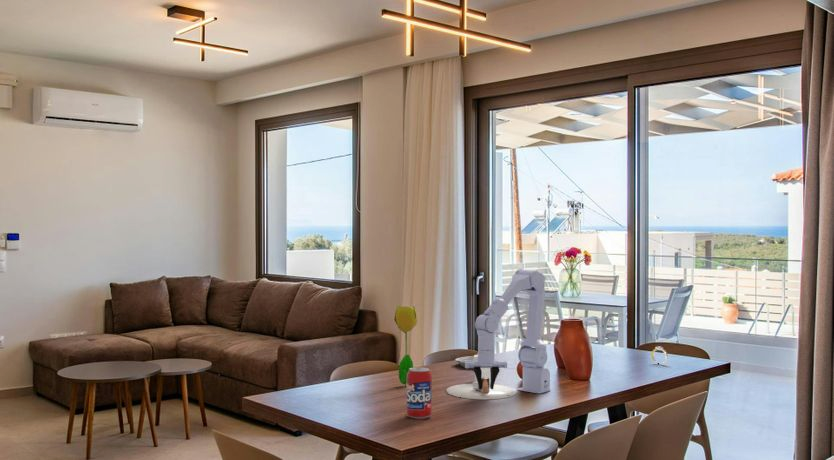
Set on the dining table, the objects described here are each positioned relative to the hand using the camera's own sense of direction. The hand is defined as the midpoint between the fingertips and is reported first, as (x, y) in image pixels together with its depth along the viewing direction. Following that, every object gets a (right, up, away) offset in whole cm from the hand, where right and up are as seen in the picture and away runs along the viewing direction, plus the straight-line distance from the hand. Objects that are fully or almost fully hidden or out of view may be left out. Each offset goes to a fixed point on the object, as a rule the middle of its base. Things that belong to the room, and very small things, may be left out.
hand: (485, 388), depth 264 cm
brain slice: (+1, -4, +62) cm, 62 cm away
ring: (+82, -4, +69) cm, 107 cm away
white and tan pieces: (-1, -2, +6) cm, 6 cm away
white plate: (-1, -3, +10) cm, 10 cm away
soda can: (-23, -3, -28) cm, 36 cm away
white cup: (+2, -4, +28) cm, 28 cm away
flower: (-28, -3, +20) cm, 34 cm away
